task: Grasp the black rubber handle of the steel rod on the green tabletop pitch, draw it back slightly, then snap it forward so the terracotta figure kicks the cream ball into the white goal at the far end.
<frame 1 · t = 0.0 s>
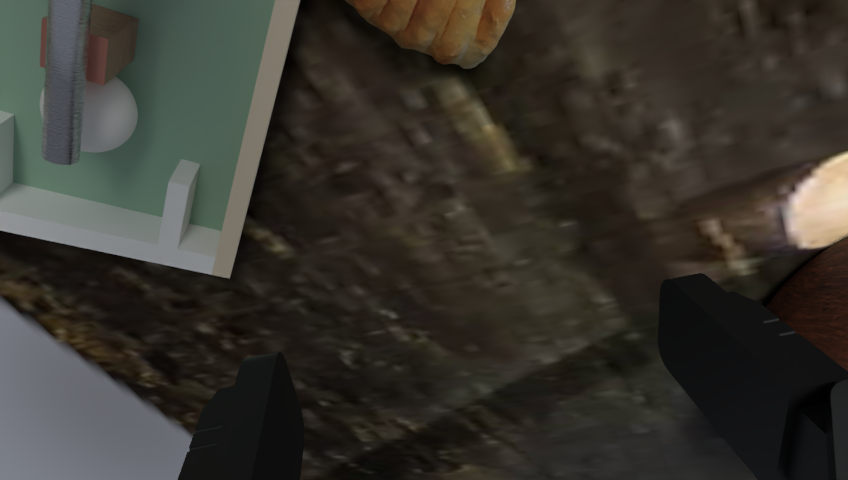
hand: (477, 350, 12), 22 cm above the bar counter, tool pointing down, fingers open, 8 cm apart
ball: (90, 110, 26), point 3 cm above the bar counter, touching pitch
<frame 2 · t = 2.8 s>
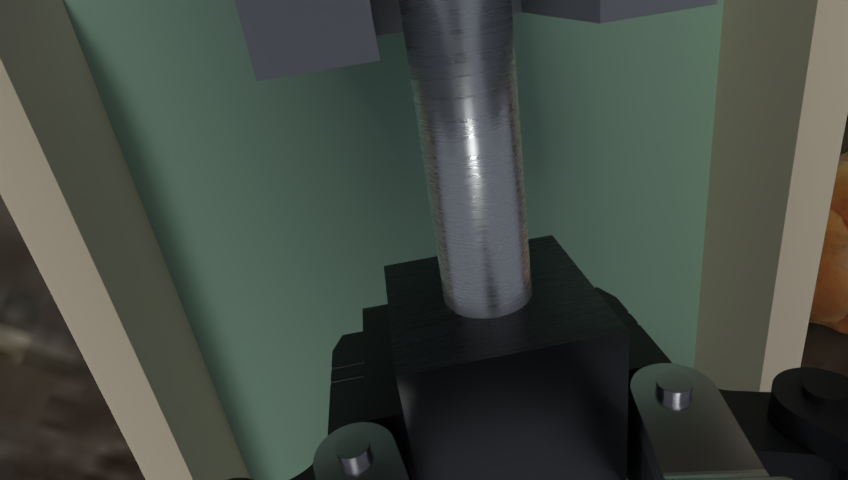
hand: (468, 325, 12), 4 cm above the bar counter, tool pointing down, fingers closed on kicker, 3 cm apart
pitch: (467, 401, 18), on the bar counter
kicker: (483, 375, 12), point 5 cm above the bar counter, slide at 0.0 cm, touching gripper
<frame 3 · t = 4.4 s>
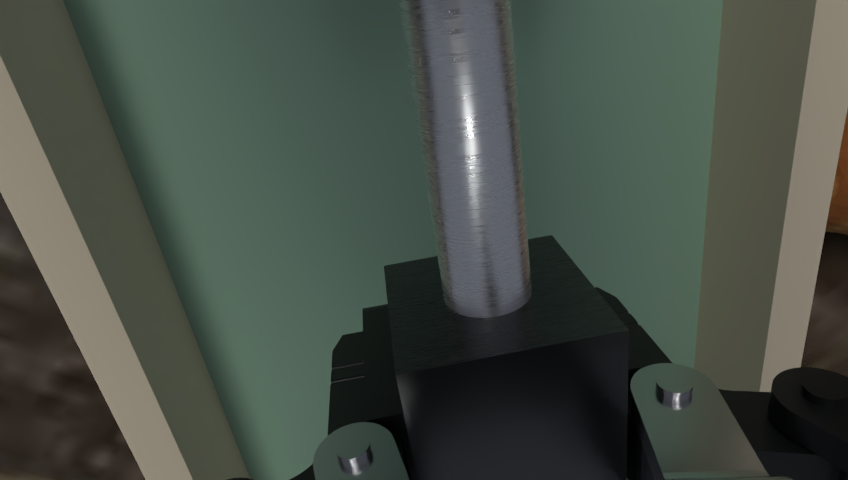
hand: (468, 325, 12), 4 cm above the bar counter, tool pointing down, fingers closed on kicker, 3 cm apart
pitch: (454, 317, 17), on the bar counter
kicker: (483, 375, 12), point 5 cm above the bar counter, slide at 3.4 cm, touching gripper
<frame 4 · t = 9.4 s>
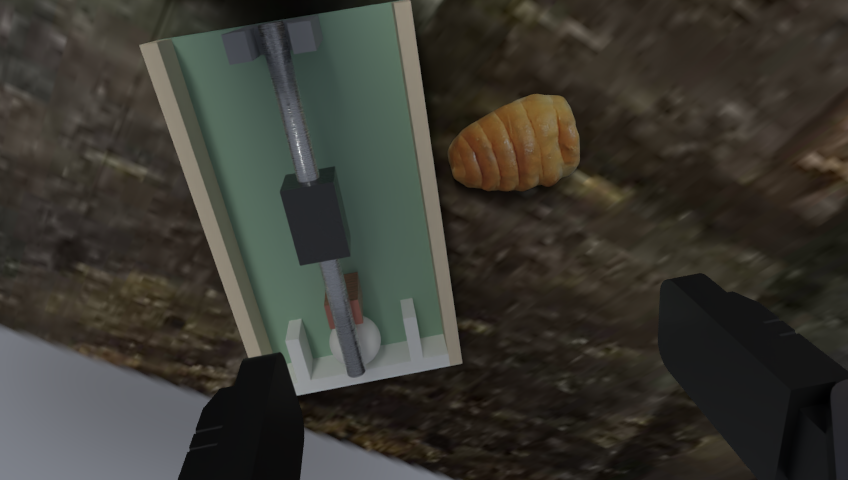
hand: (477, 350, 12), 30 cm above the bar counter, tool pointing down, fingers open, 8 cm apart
ball: (355, 340, 43), point 3 cm above the bar counter, tilted 97°, touching pitch
pastry: (516, 143, 42), on the bar counter
pitch: (329, 208, 42), on the bar counter
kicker: (320, 212, 37), point 5 cm above the bar counter, slide at 3.4 cm
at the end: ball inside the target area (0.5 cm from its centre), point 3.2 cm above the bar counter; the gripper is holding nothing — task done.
